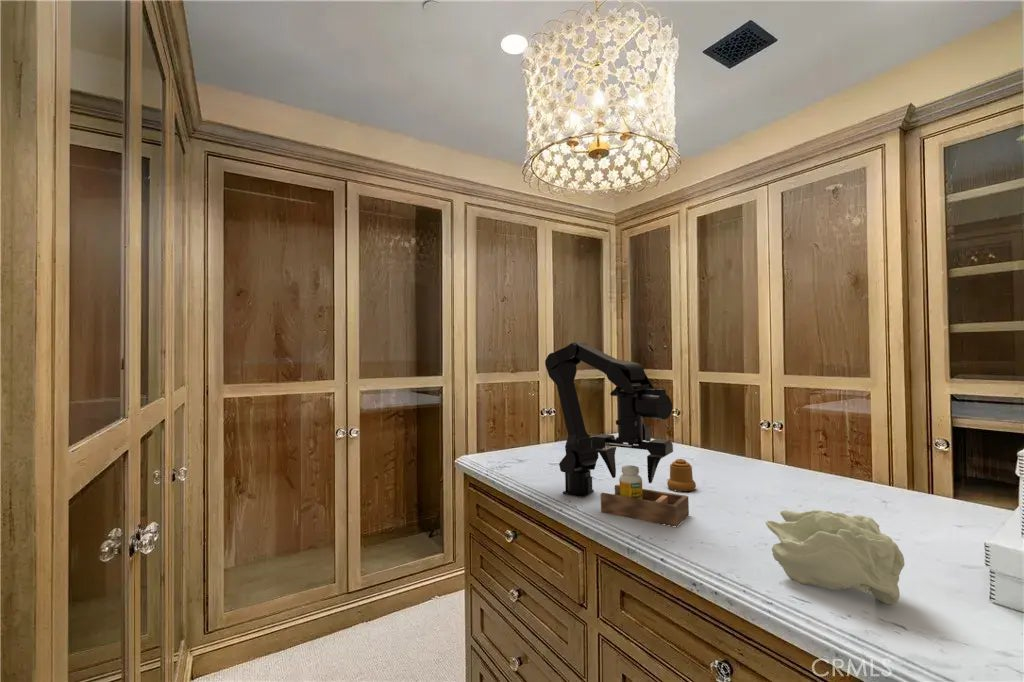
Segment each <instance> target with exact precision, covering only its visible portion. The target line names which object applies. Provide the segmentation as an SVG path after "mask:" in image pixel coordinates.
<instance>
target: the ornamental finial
mask: <svg viewBox="0 0 1024 682" xmlns="http://www.w3.org/2000/svg"><path fill="white" fill-rule="evenodd" d="M693 477H694V476H693V466H692V465H691V464H690V463H689V462H688V461H687V460H686V459H683V458H677V459H675V460H674V461H672V463H670V465H669V478H668V480H667V482H666V485H667V488H668V489H670V490H671V489H672V490H671V491H673V490H676V491H675V492H678V491H691V492H693V491H694V490H695V489H696V487H697V484H696V482H695V480H694V478H693ZM692 490H693V491H692Z"/></svg>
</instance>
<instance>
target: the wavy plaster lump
mask: <svg viewBox="0 0 1024 682" xmlns="http://www.w3.org/2000/svg"><path fill="white" fill-rule="evenodd" d="M780 516H781V517H782V518H783V520H784V521H782V522H776V521H773V520H767V521H765V525H766V526H767V528H768V529H769V531H771V532H772V533H773V534H774V535H775V536H776V537H777V538H778V540H779V542H777V543H775V544H773V545H772V546H771V547H772V548H771V551H772V557H773V558H774V560H775V561H777V562H778V564H779V565H780V567H782V569H783V571H784V573H785V574H786V576H787V577H788V578H789V579H790V580H791V581H793V580H795V581H796V582H798V583H799V584H800V585H801V584H802V585H814V586H820V587H822V588H825V589H828V590H829V589H831V590H845V589H853V588H855V589H857V590H859V591H861V592H863V593H867V592H869V591H870V593H871V594H872V595H873V596H874V597H875V598H876V599H877V600H879V601H880V602H882V603H884V604H886V605H892V604H895V603H897V602H898V601H899V600H900V595H901V594H900V587H899V581H900V575H901V571H902V570H903V569H904V567H905V557H904V555H903V553H902V551H901V550H900V548H899V546H898V544H897V543H896V542H895V541H894V540H893V539H892V538H891V537H890V536H888V535H887V534H884V533H882V531H881V530H880V525H879V524H878V523H877V522H876V521H875V520H874V519H873V518H872V517H867V516H865V515H860V514H855V515H853V516H850V515H846V514H845V513H843V512H834V511H833V512H832V511H829V510H821V509H813V510H811V511H810V510H809V511H804V512H797V511H793V510H787V509H784V510H781V511H780ZM795 581H794V582H795Z"/></svg>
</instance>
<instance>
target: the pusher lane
mask: <svg viewBox="0 0 1024 682" xmlns="http://www.w3.org/2000/svg"><path fill="white" fill-rule="evenodd" d="M642 495H643V499H637V498H631V497H626V496H620V484H615V485H614V493H607V492H601V493H600V512H601V513H603V514H607V515H612V516H617V517H622V518H627V519H633V520H638V521H642V522H648V523H652V524H653V523H654V524H657V523H659V524H658V525H662V524H665V525H664V526H667V525H670V526H669V527H672V526H676V527H675V528H678V527H677V526H678V525H679V524H680V523H681V522H682V521H683V520H684V519H685V518H686V517H687V516H688V515H689V516H690V510H689V509H690V506H689V505H690V504H689V496H688V495H685V494H679V493H672V492H666V491H660V490H659V491H658V490H653V489H647V488H642ZM662 495H664V496H668V504H666V503H660V502H655V501H656V500H657V499H658V498H660V497H661V496H662ZM689 516H688V517H689ZM688 517H687V518H688ZM687 518H686V519H687ZM686 519H685V520H686ZM685 520H684V521H685ZM684 521H683V522H684ZM683 522H682V523H683ZM682 523H681V524H682ZM681 524H680V525H681ZM680 525H679V526H680Z"/></svg>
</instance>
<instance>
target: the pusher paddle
mask: <svg viewBox="0 0 1024 682" xmlns="http://www.w3.org/2000/svg"><path fill="white" fill-rule="evenodd" d="M655 502H660V503H666V504H668V496H664V495H662V496H661V497H660V498H658V499H657V500H656V501H655Z"/></svg>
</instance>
